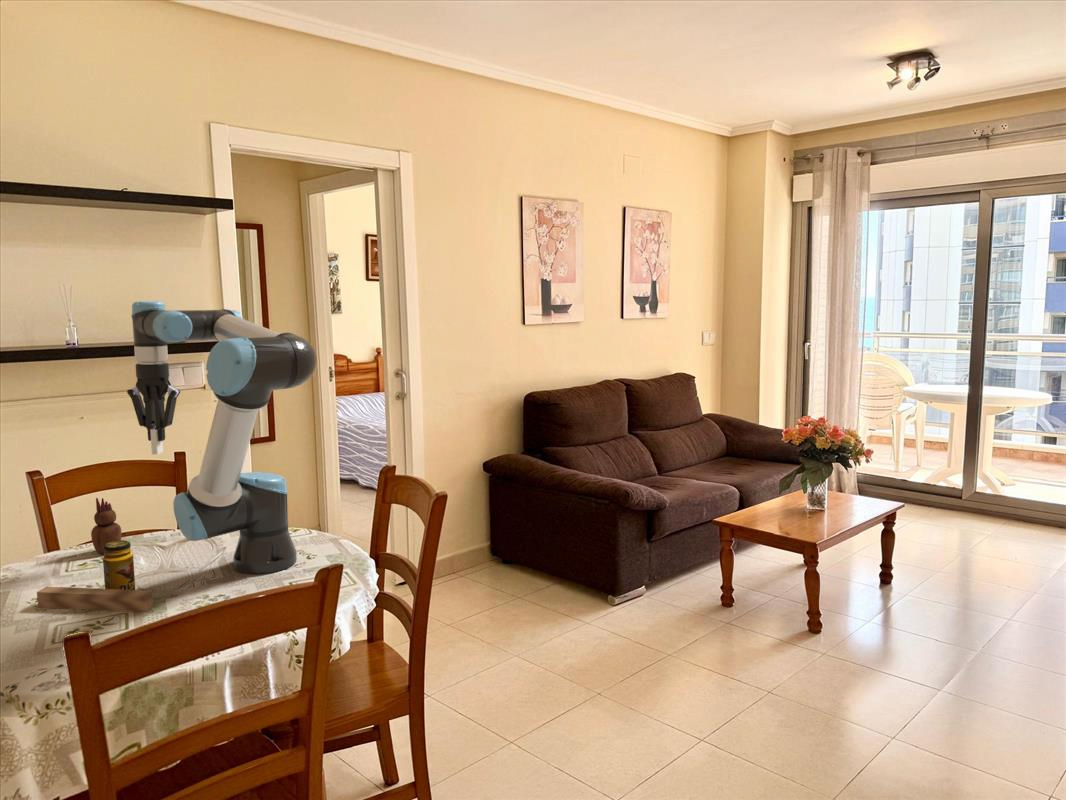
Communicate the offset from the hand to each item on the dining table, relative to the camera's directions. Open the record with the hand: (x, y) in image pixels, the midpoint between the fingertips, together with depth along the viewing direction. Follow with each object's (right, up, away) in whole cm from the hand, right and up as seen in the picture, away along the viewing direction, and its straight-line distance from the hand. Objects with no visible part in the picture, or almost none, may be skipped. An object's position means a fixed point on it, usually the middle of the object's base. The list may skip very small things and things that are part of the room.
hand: (157, 453), depth 194 cm
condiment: (+2, -31, -23) cm, 39 cm away
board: (+2, -31, -30) cm, 44 cm away
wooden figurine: (-15, -26, +3) cm, 30 cm away
